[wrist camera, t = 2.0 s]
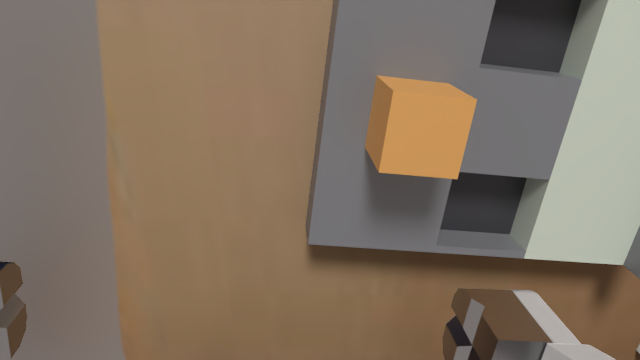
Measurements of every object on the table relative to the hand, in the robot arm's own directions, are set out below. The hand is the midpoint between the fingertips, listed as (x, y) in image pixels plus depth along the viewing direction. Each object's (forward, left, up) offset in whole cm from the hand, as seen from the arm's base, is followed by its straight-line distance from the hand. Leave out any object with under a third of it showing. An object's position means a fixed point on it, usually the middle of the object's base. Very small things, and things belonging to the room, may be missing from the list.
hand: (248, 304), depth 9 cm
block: (-8, 0, -17) cm, 19 cm away
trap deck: (-14, 0, -20) cm, 24 cm away
